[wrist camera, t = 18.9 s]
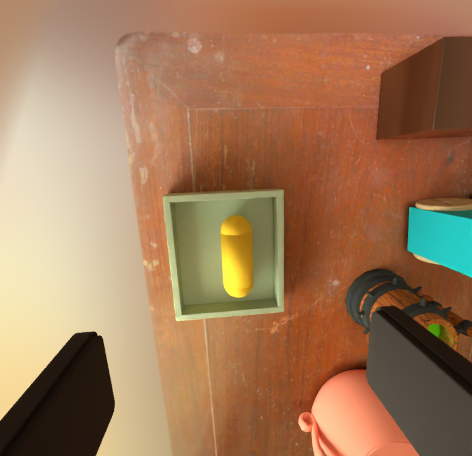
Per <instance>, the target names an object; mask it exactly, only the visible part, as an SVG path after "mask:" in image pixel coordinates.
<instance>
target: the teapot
mask: <svg viewBox="0 0 472 456" xmlns="http://www.w3.org/2000/svg"><path fill="white" fill-rule="evenodd" d="M306 422H307V423H309V424H307V423H306ZM299 425H300V427H301V429H302V430H303V431H305V432H310V431H312V442H313V450H314V454H315V456H324V454H323V452H322V450H321V447H322V449H323V450H324V452H325V453H326V455H327V456H419V454H418V453H417V452H416V450H415V449H414V447H413V446H412V445H411V443H410V442H409V440H408V439H407V438H406V436H405V435H404V433H403V432H402V431H401V429H400V428H399V426H398V425H397V424H396V422H395V421H394V419H393V418H392V417H391V415H390V414H389V412H388V411H387V410H386V408H385V407H384V405H383V404H382V403H381V401H380V400H379V398H378V397H377V396H376V394H375V393H374V391H373V390H372V389H371V387H370V386H369V384H368V381H367V378H366V370H363V369H354V370H348V371H344V372H342V373H339V374H337V375H335V376H334V377H332V378H331V379H329V380H328V381H327V382H326V383H325V384H324V385H323V386H322V388H321V389H320V391H319V392H318V394H317V396H316V399H315V401H314V404H313V407H312V412H311V413H310V412H304V413H302V414H301V415H300V417H299ZM320 445H321V446H320Z"/></svg>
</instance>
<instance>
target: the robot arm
mask: <svg viewBox="0 0 472 456" xmlns="http://www.w3.org/2000/svg"><path fill="white" fill-rule="evenodd" d="M366 378H367V381H368V384H369V386H370V387H371V389H372V390H373V391H374V393H375V394H376V396H377V397H378V398H379V400H380V401H381V403H382V404H383V405H384V407H385V408H386V410H387V411H388V412H389V414H390V415H391V417H392V418H393V419H394V421H395V422H396V424H397V425H398V426H399V428H400V429H401V431H402V432H403V433H404V435H405V436H406V438H407V439H408V440H409V442H410V443H411V445H412V446H413V447H414V449H415V450H416V452H417V453H418V454H419V456H472V363H471V362H470V361H468V360H467V359H466V358H464V357H463V356H462V355H460V354H459V353H458V352H456V351H455V350H454V349H452V348H451V347H450V346H449V345H447V344H446V343H445V342H443V341H442V340H441V339H439V338H438V337H437V336H435V335H434V334H433V333H431V332H430V331H429V330H427V329H426V328H425V327H423V326H422V325H421V324H419V323H418V322H417V321H415V320H414V319H413V318H411V317H410V316H409V315H407V314H406V313H405V312H403V311H402V310H401V309H399V308H398V307H396V306H382V307H377V308H376V310H375V311H374V312H372V315H371V325H370V336H369V347H368V358H367V369H366ZM114 407H115V400H114V395H113V390H112V384H111V379H110V374H109V369H108V363H107V359H106V353H105V347H104V342H103V338H102V336H98V335H97V333H96V332H82V333H76V334H74V335H73V336H72V337H71V338H70V340H69V341H68V342H67V343H66V344H65V346H64V347H63V348H62V349H61V350H60V351H59V353H58V354H57V355H56V356H55V357H54V358H53V360H52V361H51V362H50V363H49V364H48V366H47V367H46V368H45V369H44V370H43V371H42V373H41V374H40V375H39V376H38V377H37V378H36V380H35V381H34V382H33V383H32V384H31V386H30V387H29V388H28V389H27V390H26V391H25V392H24V394H23V395H22V396H21V397H20V398H19V400H18V401H17V402H16V403H15V404H14V405H13V407H12V408H11V409H10V410H9V411H8V413H7V414H6V415H5V416H4V417H3V418H2V419H1V421H0V456H96V454H97V452H98V449H99V447H100V444H101V442H102V439H103V437H104V434H105V432H106V430H107V427H108V425H109V423H110V420H111V418H112V415H113V412H114Z"/></svg>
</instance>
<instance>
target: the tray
mask: <svg viewBox="0 0 472 456" xmlns="http://www.w3.org/2000/svg"><path fill="white" fill-rule="evenodd" d="M163 206H164V215H165V224H166V233H167V242H168V251H169V260H170V269H171V278H172V287H173V297H174V306H175V315H176V321H182V320H193V319H205V318H217V317H228V316H240V315H252V314H263V313H275V312H284V190H282V189H279V188H266V189H247V190H227V191H207V192H188V193H168V194H166V195H164V196H163ZM233 215H239V216H242V217H244V218H246V219H247V220H248V221H249V222H250V224H251V227H252V245H253V279H254V283H253V288H252V290H251V292H250V293H249V294H248V295H246V296H244V297H240V298H237V297H233V296H231V295H230V294H228V293H227V291H226V290H225V287H224V283H223V267H222V250H221V233H220V231H221V225H222V223H223V222H224V220H225V219H227V218H228V217H230V216H233Z"/></svg>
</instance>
